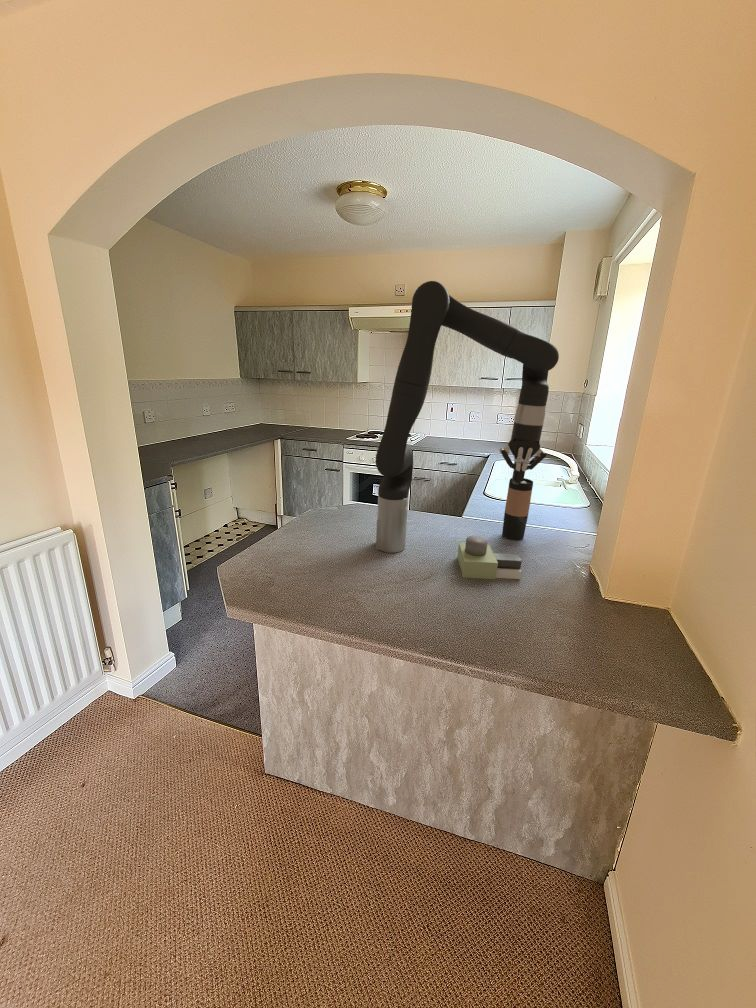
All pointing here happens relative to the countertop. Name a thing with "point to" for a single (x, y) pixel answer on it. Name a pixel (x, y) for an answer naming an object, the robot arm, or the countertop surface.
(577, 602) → the countertop surface
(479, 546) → the two-prong plug
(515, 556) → the dark grey box
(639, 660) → the countertop surface
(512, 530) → the travel mug
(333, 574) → the countertop surface
